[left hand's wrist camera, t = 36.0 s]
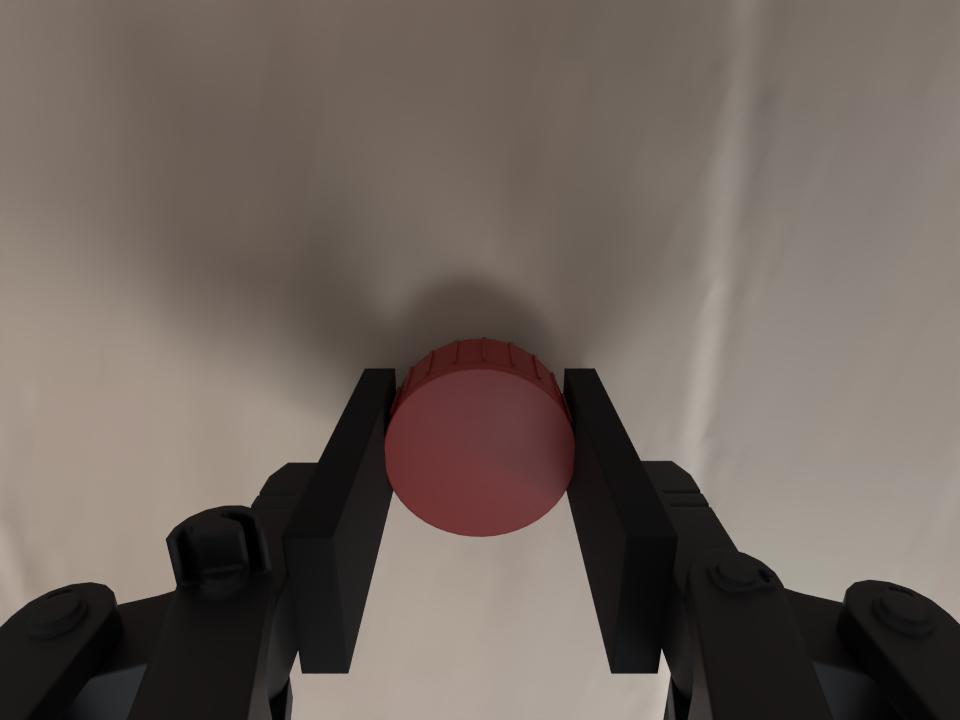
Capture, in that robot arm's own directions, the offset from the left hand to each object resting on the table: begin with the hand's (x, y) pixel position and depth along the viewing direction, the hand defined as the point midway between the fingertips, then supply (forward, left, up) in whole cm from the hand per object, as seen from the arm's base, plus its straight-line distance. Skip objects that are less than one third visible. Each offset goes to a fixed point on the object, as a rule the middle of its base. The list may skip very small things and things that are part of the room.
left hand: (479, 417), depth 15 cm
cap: (0, 0, +2) cm, 2 cm away
